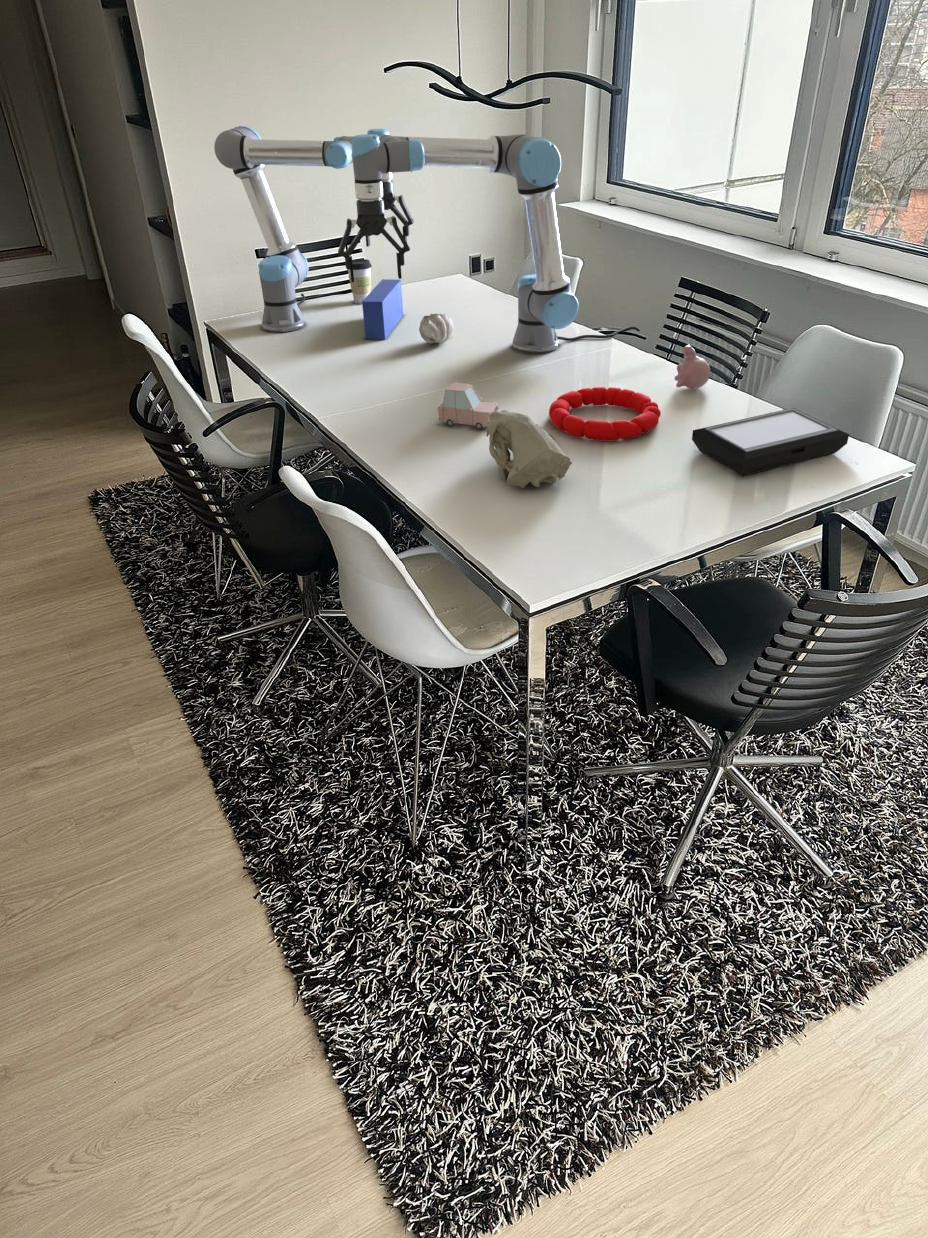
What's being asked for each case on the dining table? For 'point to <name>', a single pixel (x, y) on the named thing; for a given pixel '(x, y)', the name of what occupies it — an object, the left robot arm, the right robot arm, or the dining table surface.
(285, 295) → the left robot arm
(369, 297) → the box
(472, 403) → the toy car
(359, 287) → the coffee cup
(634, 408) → the decorative ring
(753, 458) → the electronic device
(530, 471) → the animal skull
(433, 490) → the dining table surface
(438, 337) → the seashell
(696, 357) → the figurine
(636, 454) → the dining table surface
